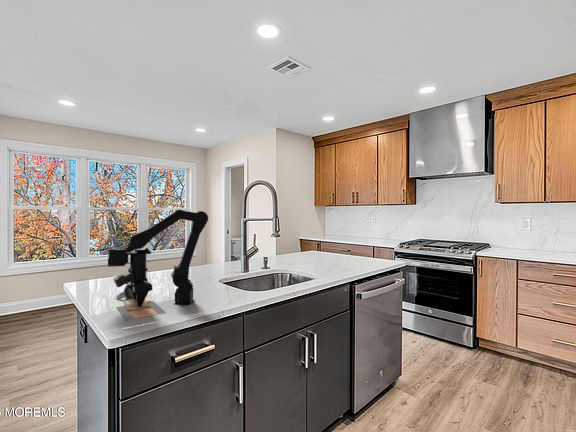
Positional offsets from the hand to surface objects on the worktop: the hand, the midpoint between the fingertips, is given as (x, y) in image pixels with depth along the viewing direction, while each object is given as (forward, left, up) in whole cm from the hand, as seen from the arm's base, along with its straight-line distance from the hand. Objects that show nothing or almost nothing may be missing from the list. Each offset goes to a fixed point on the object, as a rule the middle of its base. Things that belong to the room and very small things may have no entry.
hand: (137, 304), depth 124 cm
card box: (0, 0, -1) cm, 1 cm away
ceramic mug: (+11, -11, -2) cm, 16 cm away
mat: (-3, +3, -1) cm, 5 cm away
